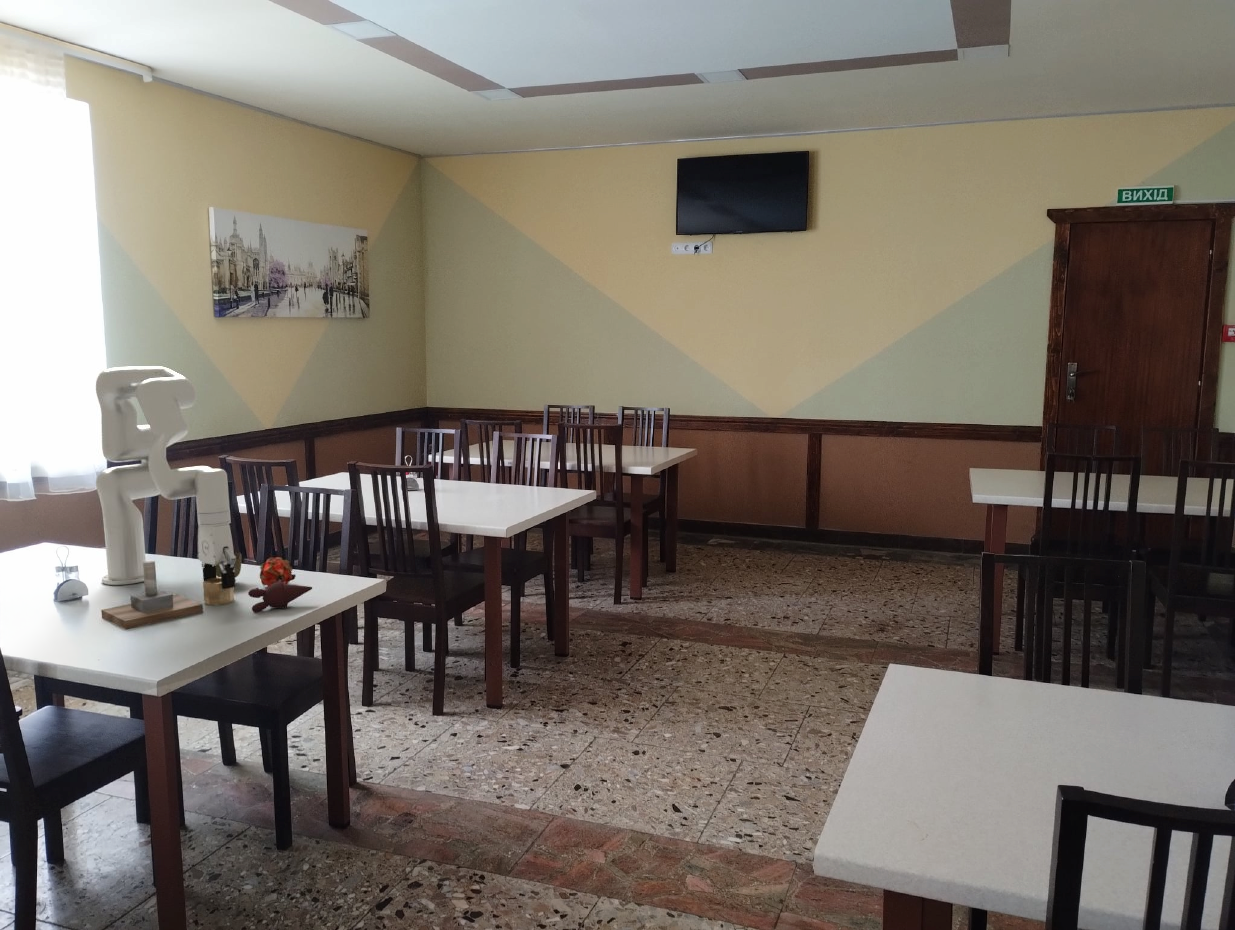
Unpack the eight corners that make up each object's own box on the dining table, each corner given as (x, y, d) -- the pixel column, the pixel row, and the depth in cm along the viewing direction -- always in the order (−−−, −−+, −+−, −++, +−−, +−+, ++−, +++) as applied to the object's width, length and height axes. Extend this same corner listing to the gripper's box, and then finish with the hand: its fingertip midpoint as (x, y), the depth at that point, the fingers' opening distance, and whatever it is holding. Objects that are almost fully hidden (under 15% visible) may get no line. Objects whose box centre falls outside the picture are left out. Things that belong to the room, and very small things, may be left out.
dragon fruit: (275, 586, 261) (284, 603, 251) (248, 572, 256) (256, 588, 246) (294, 560, 261) (303, 576, 251) (267, 546, 257) (275, 561, 247)
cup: (248, 580, 261) (246, 552, 260) (235, 587, 254) (233, 558, 252) (222, 580, 262) (220, 551, 260) (208, 587, 254) (206, 558, 253)
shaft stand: (101, 617, 227) (97, 564, 225) (177, 601, 240) (173, 551, 239) (125, 629, 218) (121, 574, 216) (203, 612, 231) (199, 559, 229)
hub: (200, 601, 240) (199, 580, 239) (225, 596, 245) (224, 575, 244) (212, 606, 236) (211, 585, 235) (237, 601, 241) (236, 579, 240)
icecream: (306, 574, 241) (244, 588, 234) (312, 573, 235) (249, 587, 227) (311, 601, 241) (250, 615, 234) (318, 600, 235) (255, 615, 227)
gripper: (183, 517, 240) (189, 583, 242) (215, 524, 229) (221, 593, 231) (212, 512, 246) (217, 577, 248) (245, 519, 234) (250, 587, 237)
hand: (219, 584), depth 239 cm, fingers open, 9 cm apart
